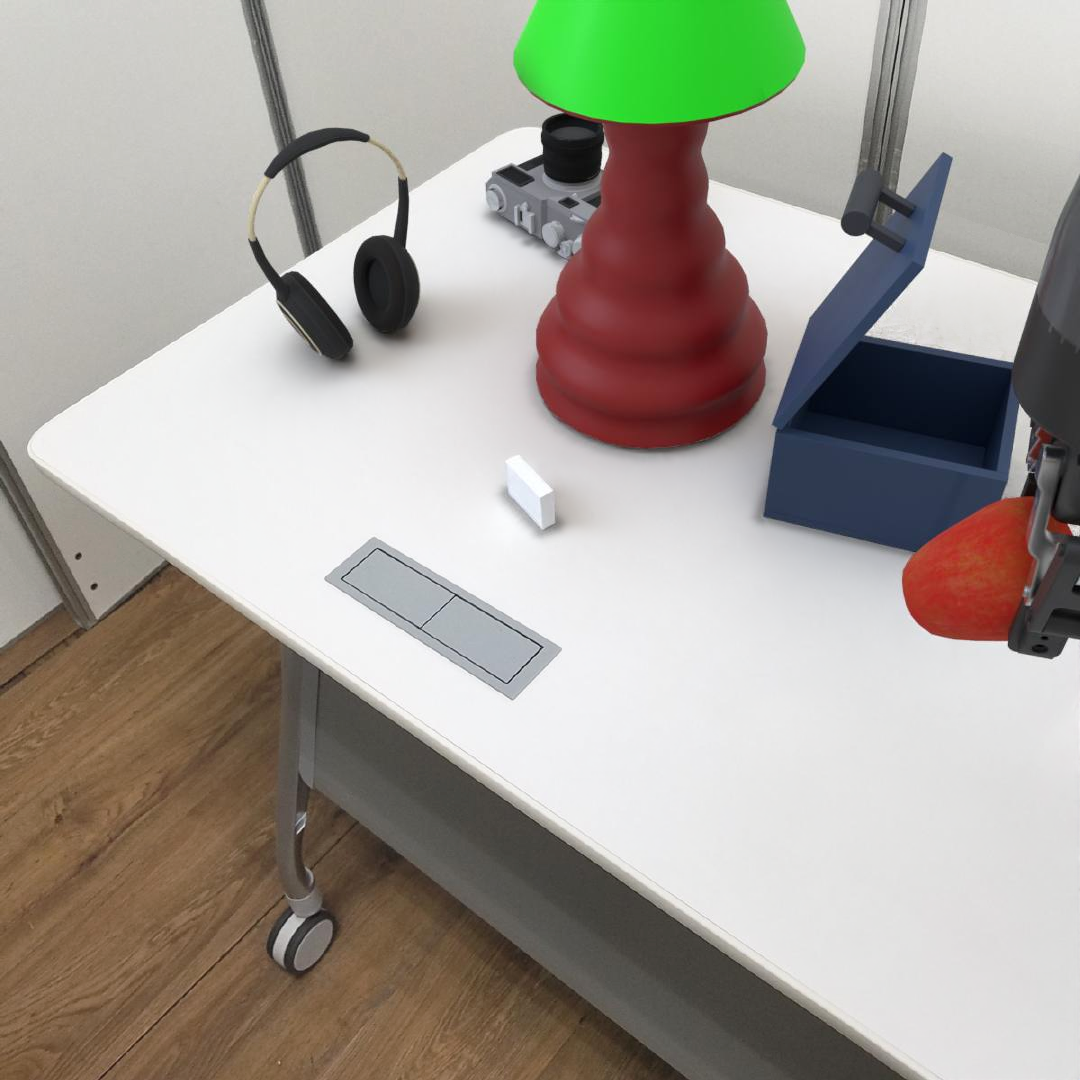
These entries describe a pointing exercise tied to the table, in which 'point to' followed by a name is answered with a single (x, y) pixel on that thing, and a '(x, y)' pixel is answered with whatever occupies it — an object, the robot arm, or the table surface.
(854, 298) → the lid
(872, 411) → the box
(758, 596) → the table surface
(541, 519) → the eraser
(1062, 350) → the robot arm
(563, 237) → the camera
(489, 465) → the table surface
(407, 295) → the headphones
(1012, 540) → the apple
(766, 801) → the table surface
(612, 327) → the table lamp
